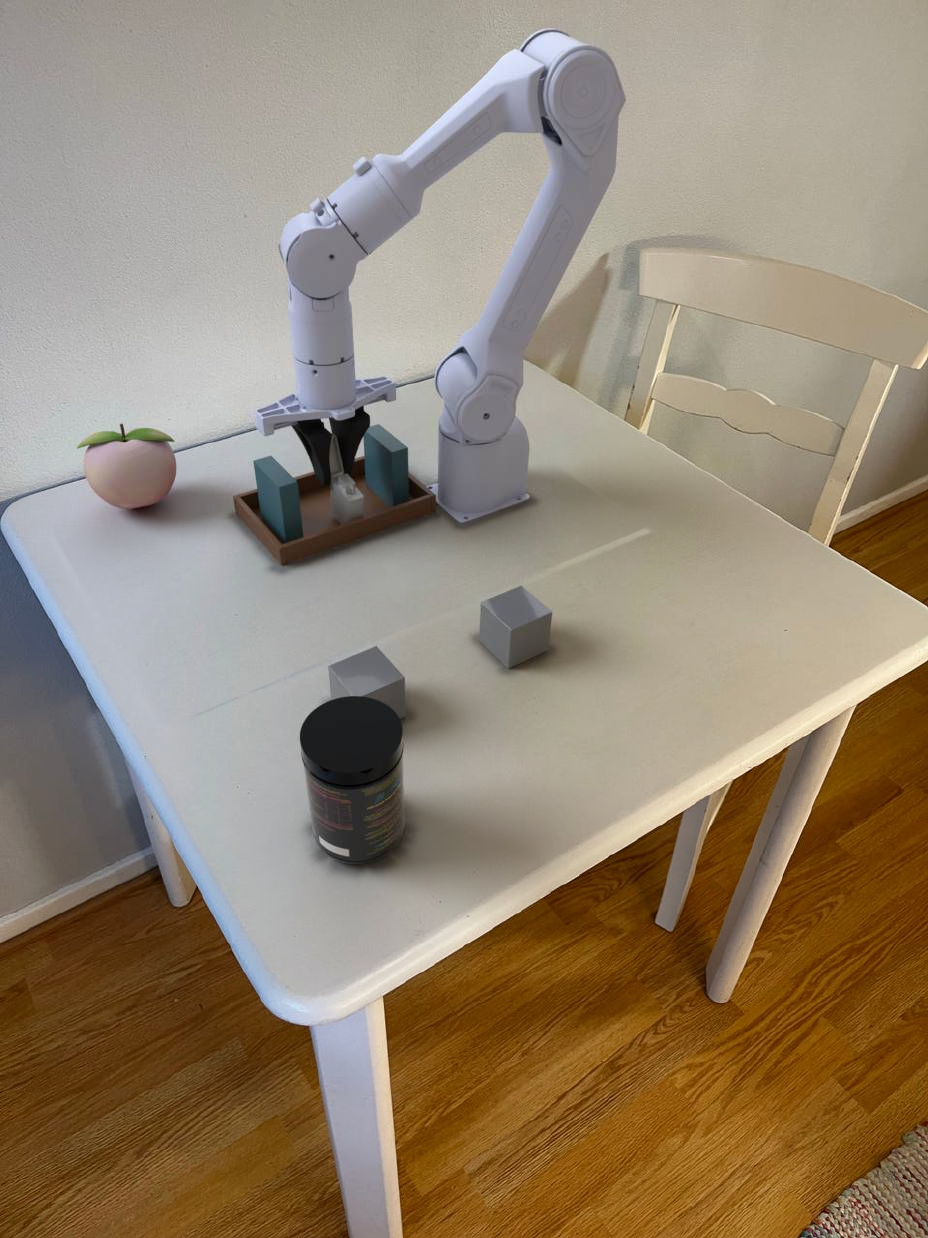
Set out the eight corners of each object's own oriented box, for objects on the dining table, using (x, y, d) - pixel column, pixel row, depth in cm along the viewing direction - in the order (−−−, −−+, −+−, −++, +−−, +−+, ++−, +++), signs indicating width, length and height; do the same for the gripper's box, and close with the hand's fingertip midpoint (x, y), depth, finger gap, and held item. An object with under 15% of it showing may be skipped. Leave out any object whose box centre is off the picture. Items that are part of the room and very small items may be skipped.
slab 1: (278, 512, 95) (271, 454, 91) (304, 540, 92) (297, 481, 87) (261, 518, 95) (252, 460, 90) (286, 546, 91) (279, 487, 86)
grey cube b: (378, 684, 77) (376, 645, 74) (405, 716, 74) (405, 677, 71) (331, 705, 75) (327, 665, 72) (358, 739, 72) (355, 699, 69)
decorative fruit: (101, 539, 92) (76, 453, 85) (91, 499, 97) (67, 415, 91) (194, 520, 95) (177, 435, 88) (179, 481, 100) (162, 399, 94)
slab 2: (381, 479, 101) (378, 423, 96) (409, 504, 97) (408, 447, 93) (365, 484, 100) (362, 428, 96) (393, 509, 96) (391, 452, 92)
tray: (383, 468, 104) (382, 449, 102) (436, 514, 97) (436, 495, 95) (235, 515, 96) (232, 495, 94) (281, 569, 89) (279, 549, 87)
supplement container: (420, 808, 67) (419, 711, 60) (382, 882, 62) (376, 785, 55) (338, 782, 69) (328, 684, 62) (295, 851, 64) (279, 754, 57)
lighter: (363, 528, 94) (365, 467, 88) (348, 533, 93) (349, 472, 87) (331, 489, 97) (330, 428, 91) (316, 494, 97) (315, 432, 91)
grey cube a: (518, 622, 83) (521, 584, 81) (548, 650, 81) (552, 612, 78) (478, 640, 81) (480, 601, 79) (508, 669, 79) (511, 630, 76)
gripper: (271, 387, 79) (286, 516, 88) (411, 351, 85) (412, 475, 94) (238, 357, 83) (256, 483, 92) (374, 326, 90) (378, 446, 98)
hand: (333, 477), depth 93 cm, fingers closed on lighter, 2 cm apart
